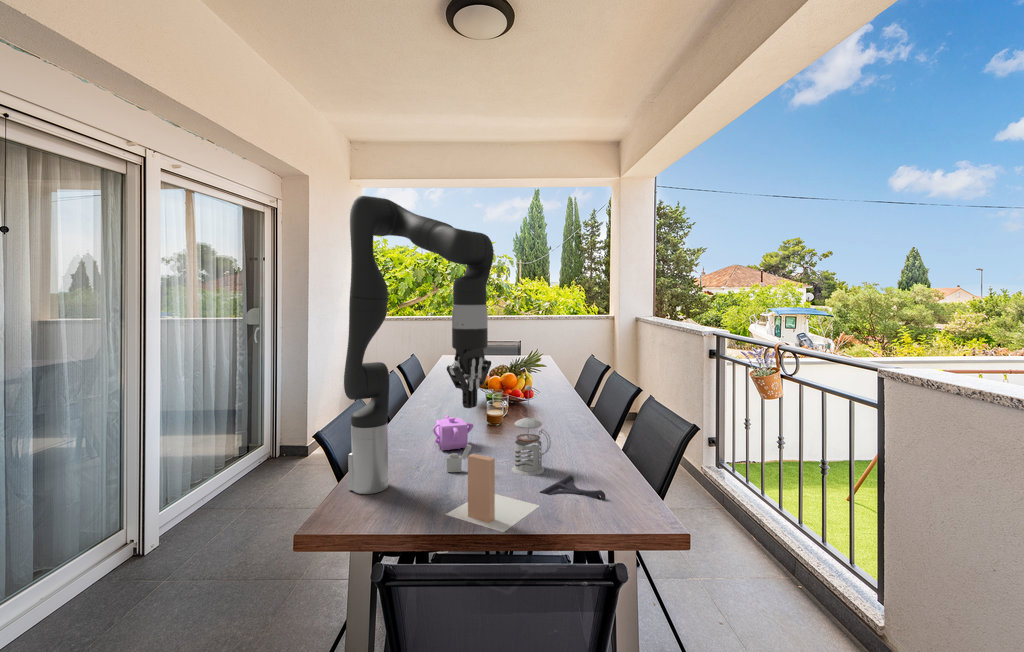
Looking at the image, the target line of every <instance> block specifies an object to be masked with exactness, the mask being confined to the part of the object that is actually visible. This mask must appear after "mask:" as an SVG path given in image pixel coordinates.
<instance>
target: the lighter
mask: <svg viewBox="0 0 1024 652" xmlns="http://www.w3.org/2000/svg"><path fill="white" fill-rule="evenodd" d="M471 449H472V445H471V444H469V443H468V444H467V446H466V448H464V450H463V452H462V455H459V453H458V452H457V453H456V452H455V453H454V452H453V453H449V456H448V455H447V457H446V473H447V472H461V473H462V467H463V465H462V463H463V462H462V460H466V459H467V458H468V456H469V453H470V451H471ZM458 455H459V456H458Z"/></svg>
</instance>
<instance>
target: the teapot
mask: <svg viewBox="0 0 1024 652" xmlns="http://www.w3.org/2000/svg"><path fill="white" fill-rule="evenodd" d="M444 417H445V418H440V419H436V424H435V425H434V426H433V427H432V432H433V434H434V436H435V438H434V442H435V443H436V444H437V445H438V446H439V448H440V449H441V451H444V450H448V451H449V450H461V449H460V448H463V449H465V448H466V446H467V444H469V442H468V434H470V432H471V431H472V430H473V429H474V427H475V426H474V423H472V422H465V420H464V419H462V418H461V417H455V416H451V417H450V416H449V414H445V416H444Z"/></svg>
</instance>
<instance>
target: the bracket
mask: <svg viewBox="0 0 1024 652" xmlns="http://www.w3.org/2000/svg"><path fill="white" fill-rule="evenodd" d="M574 482H575V478H574V476H573V475H571V474H569V475H568V476H566V477H564V478H563V479H561V480H559V481H557V482H555V483H552V485H550V486H547V487H545V488H544V489H542V490H541V491H539V494H544V495H548V496H551V495H552V494H553V495H559V494H573V495H581V496H585V497H587V498H591V499H594V500H595V499H596V500H598V501H601V500H602V501H605V500H606V498H607V497H606V494H605V492H604V491H603V490H602V489H597V490H590V489H589V490H586V489H580V488H578V487H576V485H575V483H574Z"/></svg>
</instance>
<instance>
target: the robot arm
mask: <svg viewBox="0 0 1024 652" xmlns="http://www.w3.org/2000/svg"><path fill="white" fill-rule="evenodd" d="M349 231H350V232H349V233H350V234H349V235H350V249H351V251H350V253H351V254H350V255H351V257H350V258H351V262H350V263H351V268H350V287H349V302H348V306H349V307H348V312H349V313H348V316H349V317H348V339H347V340H348V341H347V348H346V357H345V364H344V374H343V387H344V388H343V389H344V393H345V397H347V398H348V399H349V400H352V401H357V400H358V401H359V400H367V399H370V401H369V402H368V403H367V404H366V405H365V406H363V407H362V408H360V409H357V410H356V411H354V412H353V413H352V414H351V417H350V424H351V425H350V428H351V429H350V433H351V434H350V438H351V439H350V440H351V452H350V453H348V455H347V456H348V457H347V461H348V467H347V468H348V490H349V491H352V492H353V493H355V494H359V495H360V494H362V495H370V494H372V495H373V494H376V493H380V492H383V491H385V490H387V489H388V487H389V442H388V441H389V439H388V438H389V437H388V435H389V433H388V431H389V430H388V426H389V425H388V424H389V423H388V419H389V418H388V415H389V408H390V407H389V406H390V405H389V403H390V402H389V401H390V373H389V369H388V366H387V365H386V364H385V363H384V362H382V361H381V362H379V361H376V362H375V361H374V362H364V359H365V358H364V357H365V353H366V350H367V348H368V346H369V344H370V342H371V340H372V339H373V337H374V336H375V335H376V333H377V332H378V331H379V329H380V328H381V327H382V324H383V323H384V321H385V320H386V317H387V312H388V303H389V302H388V301H389V299H388V298H389V289H388V285H387V282H386V281H385V278H384V276H383V275H382V272H381V269H380V268H379V266H378V264H377V261H376V259H375V253H374V237H387V236H389V237H390V236H391V237H392V236H394V237H403V238H406V239H407V240H410V241H411V243H412V244H414V246H416V247H418V248H421V249H422V250H425V251H428V252H431V253H433V254H437V255H438V256H440V257H442V258H443V259H445V260H446V261H448V262H451V263H454V264H457V265H466V267H465V272H464V275H463V276H459V277H457V278H455V279H454V281H453V285H452V286H453V287H452V302H453V303H452V314H451V347H452V349H454V350H455V355H454V357H453V358H454V359H453V360H454V362H453V363H452V365H447V366H446V372H447V373H448V375H449V377H450V380H451V382H452V383H453V385H454V387H455V389H460V390H461V391H462V392H461V394H462V395H461V396H462V401H461V402H462V406H463V408H465V409H472V408H476V407H477V406H478V390H479V389H480V386H484V385H485V382H486V380H487V376H488V374H489V371H490V369H491V367H492V361H491V360H488V359H486V356H485V352H484V350H485V349H488V343H489V340H488V334H489V333H488V330H489V329H488V320H489V319H488V309H487V285H488V281H489V277H490V273H491V269H492V265H493V260H494V252H495V251H494V246H493V242H492V240H491V239H490V237H489V236H488V234H487V235H486V234H485V233H482V232H478V231H477V232H476V231H473V230H472V231H471V230H466V229H460V228H457V227H454V226H453V225H451V224H448V223H447V222H445V221H444V222H443V221H440V220H437V219H433V218H430V217H426V216H422V215H420V214H416V213H414V212H412V211H410V210H408V209H406V208H405V207H403V206H401V205H399V204H398V203H397V202H394V201H392V200H390V199H388V198H382V197H378V196H377V197H376V196H370V195H369V196H368V195H359V196H357V197H355V198H354V200H353V201H352V204H351V207H350V212H349Z"/></svg>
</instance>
